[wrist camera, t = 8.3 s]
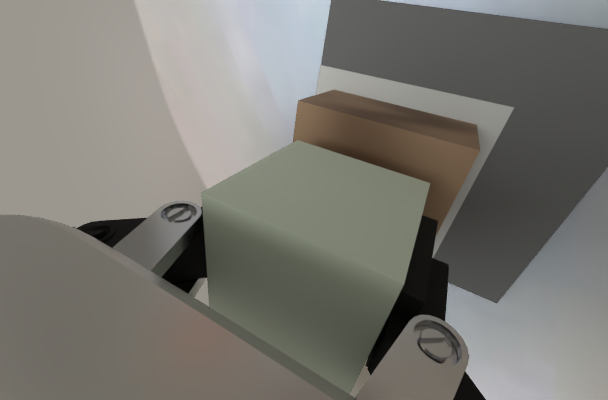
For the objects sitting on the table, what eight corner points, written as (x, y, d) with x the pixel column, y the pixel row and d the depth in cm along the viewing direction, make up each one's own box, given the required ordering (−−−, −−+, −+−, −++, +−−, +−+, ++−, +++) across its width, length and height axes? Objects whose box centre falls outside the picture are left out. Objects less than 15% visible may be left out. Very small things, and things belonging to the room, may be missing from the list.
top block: (430, 183, 9) (404, 284, 5) (385, 284, 12) (345, 401, 8) (297, 140, 11) (201, 192, 7) (284, 238, 13) (209, 316, 9)
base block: (477, 124, 12) (480, 150, 9) (420, 242, 16) (408, 288, 13) (334, 89, 15) (298, 100, 12) (313, 199, 18) (282, 230, 15)
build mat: (700, 42, 9) (711, 41, 9) (496, 298, 16) (497, 304, 16) (335, -5, 13) (331, -7, 13) (299, 214, 20) (296, 218, 20)
